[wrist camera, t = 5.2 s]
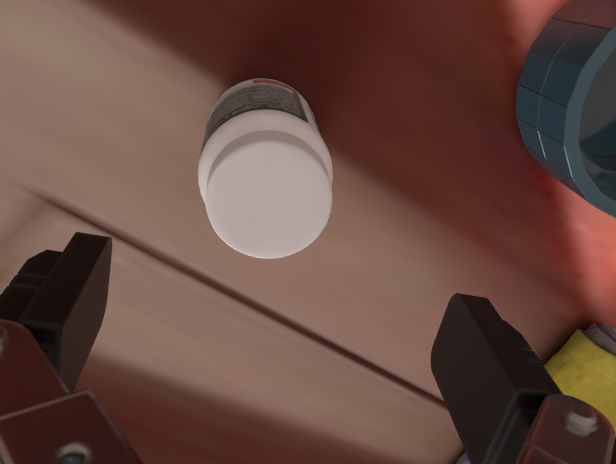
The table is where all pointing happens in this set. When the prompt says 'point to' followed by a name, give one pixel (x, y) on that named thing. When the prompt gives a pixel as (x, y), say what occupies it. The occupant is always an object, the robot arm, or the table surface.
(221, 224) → the pill bottle
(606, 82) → the bowl
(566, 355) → the dish towel
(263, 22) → the table surface
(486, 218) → the table surface
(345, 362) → the table surface
